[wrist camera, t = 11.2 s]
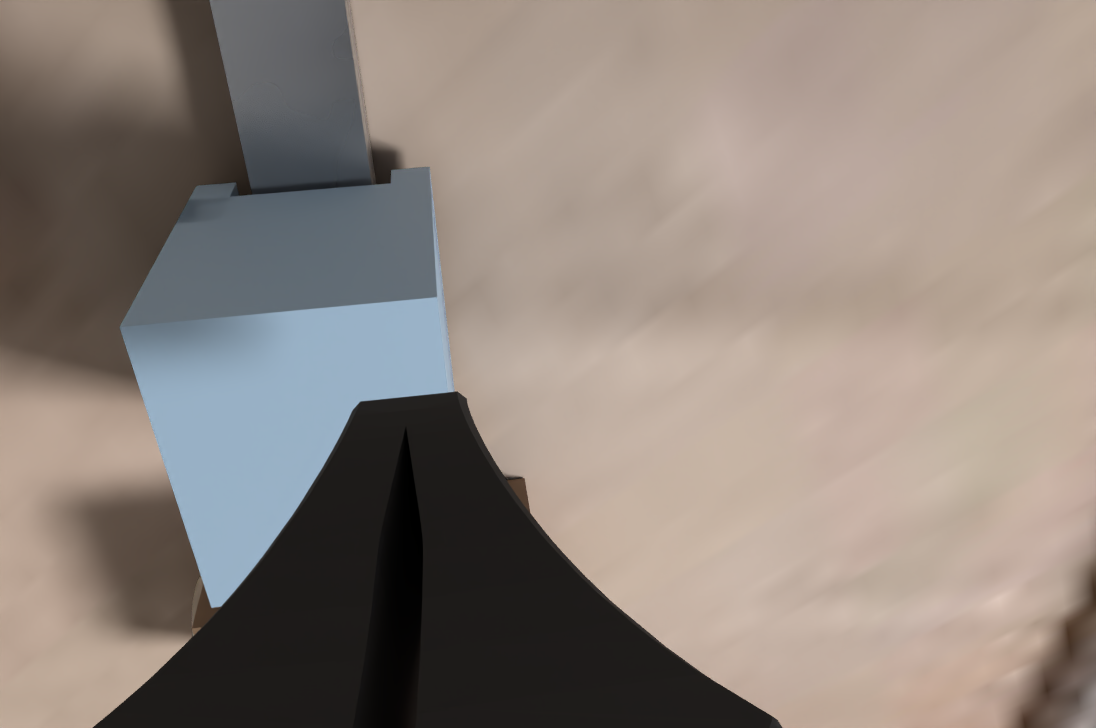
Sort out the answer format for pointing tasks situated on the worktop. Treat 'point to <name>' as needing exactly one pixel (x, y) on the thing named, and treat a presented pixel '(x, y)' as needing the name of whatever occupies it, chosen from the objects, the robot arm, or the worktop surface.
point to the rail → (296, 93)
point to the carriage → (280, 347)
